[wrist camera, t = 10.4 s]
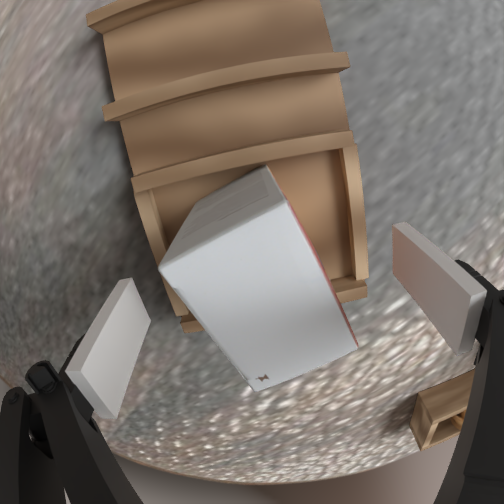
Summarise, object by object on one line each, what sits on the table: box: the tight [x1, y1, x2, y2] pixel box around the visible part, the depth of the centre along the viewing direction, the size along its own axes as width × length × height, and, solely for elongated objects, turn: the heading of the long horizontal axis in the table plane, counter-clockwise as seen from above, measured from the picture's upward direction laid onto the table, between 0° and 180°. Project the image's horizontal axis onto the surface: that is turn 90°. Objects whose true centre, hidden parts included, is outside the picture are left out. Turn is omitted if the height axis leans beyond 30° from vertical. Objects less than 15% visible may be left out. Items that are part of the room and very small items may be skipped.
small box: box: [158, 164, 359, 392], centre depth 17 cm, size 8×6×10 cm
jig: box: [86, 0, 369, 333], centre depth 19 cm, size 25×15×4 cm, turn 12°
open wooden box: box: [409, 369, 475, 451], centre depth 31 cm, size 8×17×5 cm, turn 102°
